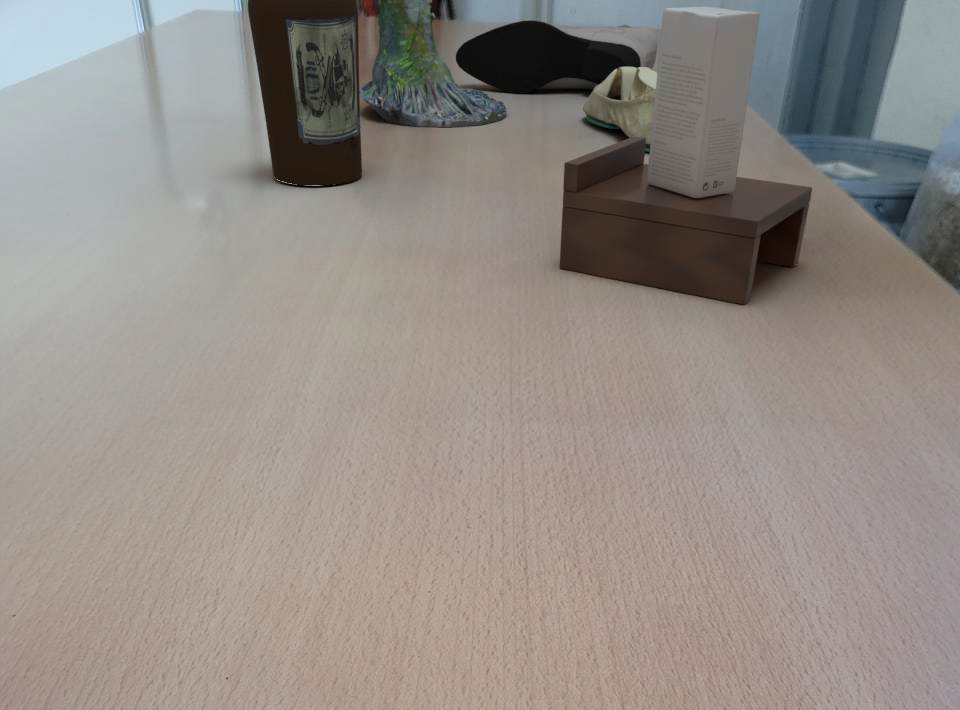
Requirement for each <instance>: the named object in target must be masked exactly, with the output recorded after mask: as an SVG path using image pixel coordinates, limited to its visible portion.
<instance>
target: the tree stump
mask: <svg viewBox="0 0 960 710" xmlns="http://www.w3.org/2000/svg"><path fill="white" fill-rule="evenodd" d="M432 4H433V0H378V8H379V14H378V15H377V19H378V21H377V25H378V27H379V28H378V36H379V41H378V51H377V54H376V57H375V59H374V63H373V66H372V71H371V76H372V77H371V78H372V80H370V81H368V82H367V83H365V84H364V85H363V86H362V87H361V89H359V96H360V98H361V99H362V100H363V101H364V102H365V103H367V104H368V105H369V106H370V107H371V108H372V109H373V110H374V111H375V112H376V113H377V114H378V115H379V116H380V117H381V118H382V119H383V120H384V122H387V123H391V124H395V125H403V126H411V127H419V128H421V127H423V128H424V127H426V128H427V127H429V128H430V127H431V128H432V127H433V128H456V127H457V128H459V127H470V126H483V125H486V124H490V123H494V122H498V121H501V120H503V119H504V118H505V117H506V116H507V107H506V105H505V103H504V102H503V101H502V100H496V99H495V98H493V97H491V96H490V95H489V94H488V93H485V92H483V91H482V90H481V89H479V90H476V89H474V88H465V89H462V88H460V87H459V85H458V83H456V82H455V80H454V78H453V75H452V72H451V70H450V68H449V66H448V65H447V63H446V62H445V61H444V59H442V58H441V56H440V55H439V53H438V49H437V45H436V39H435V36H434V30H433V22H434V20H435V19H436V15H435V13H434V12H431V9H432Z"/></svg>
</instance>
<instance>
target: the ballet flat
mask: <svg viewBox="0 0 960 710" xmlns="http://www.w3.org/2000/svg"><path fill="white" fill-rule="evenodd" d="M657 72H658V71H655V70H653V69H650V68H647V67H638V68H636V67H620V68H619V69H615V70H614V71H613V72H612V73H611V74H610V75H609V76H608V77H607V78H606V79H605V80H604V81H603V82H602V83H601V84H599V85H597V86H596V87H595V88H594V89H592V91H591V93H590V95H589V96H588V97H587V99H586V101H584V104H583V105H582V112H583V113H584V114H585V115H586V120H587V121H588V122H590V123H591V124H593V125H596V126H599V127H602V128H606V129H610V130H621V131H622V132H623V133H624V134H625V135H626V136H627V137H628V139H629V138H631V137H634V136H635V137H642V138H646V145H645V153H646V152H647V153H650V144H651V134H652V123H653V113H654V103H655V92H656V82H657ZM647 88H650V89H647Z"/></svg>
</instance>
